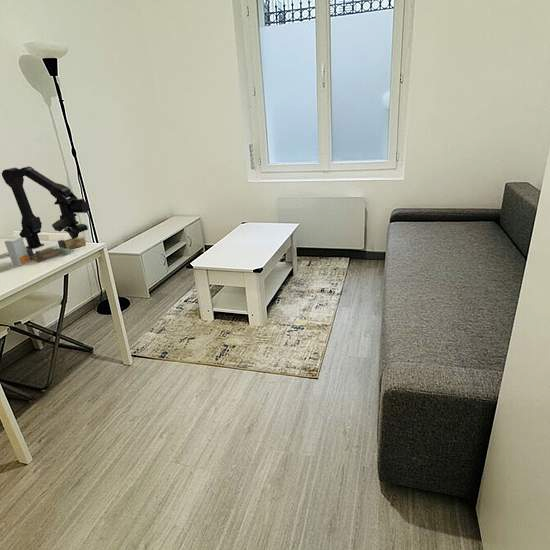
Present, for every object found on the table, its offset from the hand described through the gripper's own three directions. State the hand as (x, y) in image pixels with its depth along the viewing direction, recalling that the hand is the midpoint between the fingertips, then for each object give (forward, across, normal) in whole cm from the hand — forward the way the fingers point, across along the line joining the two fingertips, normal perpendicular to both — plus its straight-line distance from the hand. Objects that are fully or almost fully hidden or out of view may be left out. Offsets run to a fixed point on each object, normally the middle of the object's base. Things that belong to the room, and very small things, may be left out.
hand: (75, 242), depth 198 cm
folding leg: (+1, +2, -3) cm, 4 cm away
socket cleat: (+1, +7, -11) cm, 13 cm away
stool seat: (+1, +1, -16) cm, 16 cm away
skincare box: (+2, 0, -27) cm, 27 cm away
